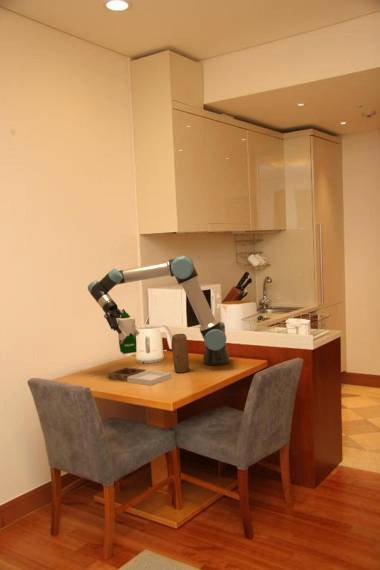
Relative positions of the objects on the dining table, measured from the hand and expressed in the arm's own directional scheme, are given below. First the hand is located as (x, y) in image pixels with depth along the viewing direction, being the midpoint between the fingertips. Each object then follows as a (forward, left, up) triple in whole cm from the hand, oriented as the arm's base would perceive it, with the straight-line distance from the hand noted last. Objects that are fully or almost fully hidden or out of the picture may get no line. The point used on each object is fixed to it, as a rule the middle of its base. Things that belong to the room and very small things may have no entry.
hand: (131, 335), depth 283 cm
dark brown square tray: (+6, 0, -23) cm, 23 cm away
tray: (-10, 0, -23) cm, 25 cm away
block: (-13, -22, -23) cm, 35 cm away
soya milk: (+3, 0, -9) cm, 10 cm away
